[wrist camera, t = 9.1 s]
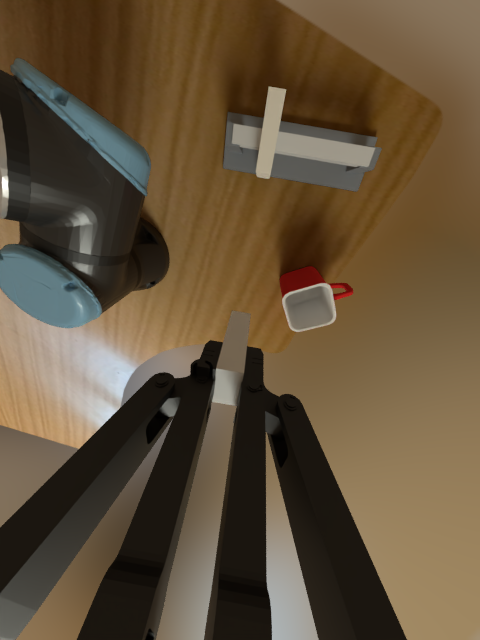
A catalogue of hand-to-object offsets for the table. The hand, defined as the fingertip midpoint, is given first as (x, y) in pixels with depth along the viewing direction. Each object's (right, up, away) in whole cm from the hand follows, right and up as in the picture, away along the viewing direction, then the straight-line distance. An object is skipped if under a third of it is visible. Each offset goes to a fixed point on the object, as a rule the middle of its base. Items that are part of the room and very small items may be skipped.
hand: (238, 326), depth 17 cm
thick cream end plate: (+5, +27, +15) cm, 32 cm away
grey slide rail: (+9, +28, +17) cm, 34 cm away
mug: (+15, +8, +28) cm, 33 cm away
